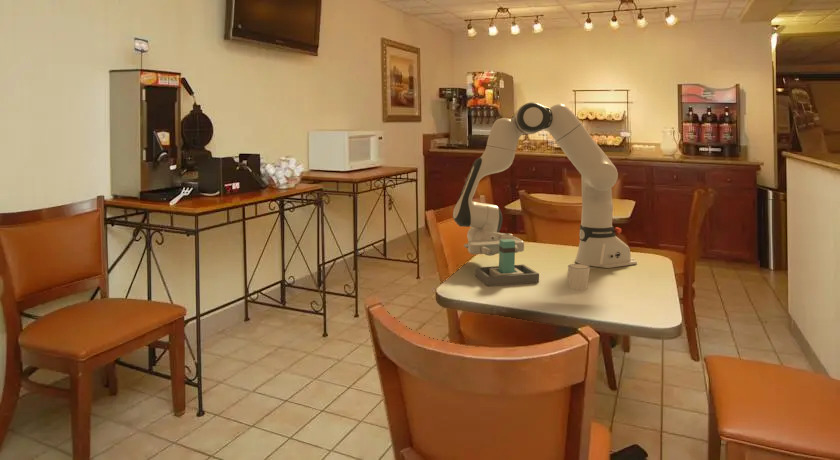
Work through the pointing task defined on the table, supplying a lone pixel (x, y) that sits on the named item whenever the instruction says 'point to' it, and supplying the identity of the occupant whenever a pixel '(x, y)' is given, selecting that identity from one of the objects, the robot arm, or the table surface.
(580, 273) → the beige cylinder
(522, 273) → the grey tray
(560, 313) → the table surface
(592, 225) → the robot arm
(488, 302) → the table surface
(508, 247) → the plug
